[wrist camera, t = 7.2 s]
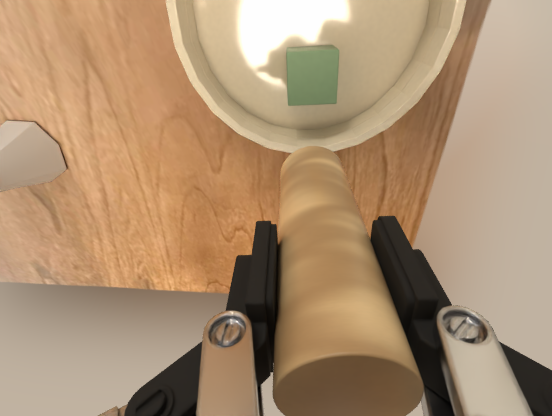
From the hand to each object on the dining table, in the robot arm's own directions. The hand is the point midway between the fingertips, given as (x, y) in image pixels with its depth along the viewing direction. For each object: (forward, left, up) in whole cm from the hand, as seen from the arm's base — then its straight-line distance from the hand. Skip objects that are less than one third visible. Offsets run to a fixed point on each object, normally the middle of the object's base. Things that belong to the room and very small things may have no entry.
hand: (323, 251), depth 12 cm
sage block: (-1, -3, -21) cm, 21 cm away
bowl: (-1, -7, -22) cm, 23 cm away
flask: (+29, +4, -22) cm, 37 cm away
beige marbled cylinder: (0, 0, -7) cm, 7 cm away
